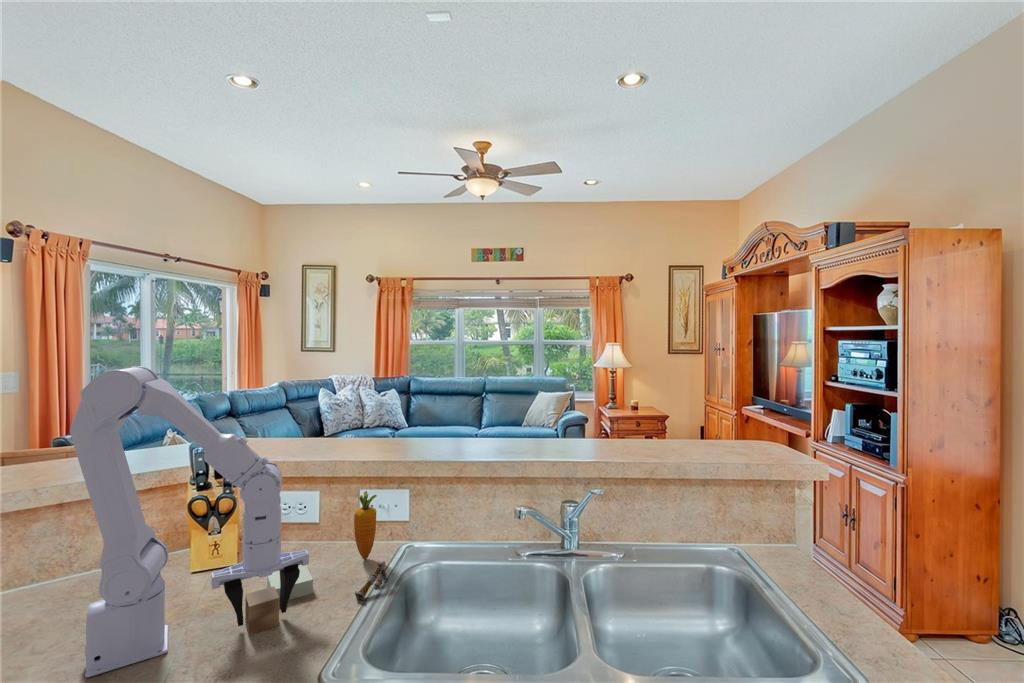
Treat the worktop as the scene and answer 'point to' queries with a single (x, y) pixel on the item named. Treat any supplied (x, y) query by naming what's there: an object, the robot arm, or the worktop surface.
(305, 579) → the base block
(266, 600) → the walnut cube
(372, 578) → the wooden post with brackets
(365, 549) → the carrot
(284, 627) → the worktop surface
